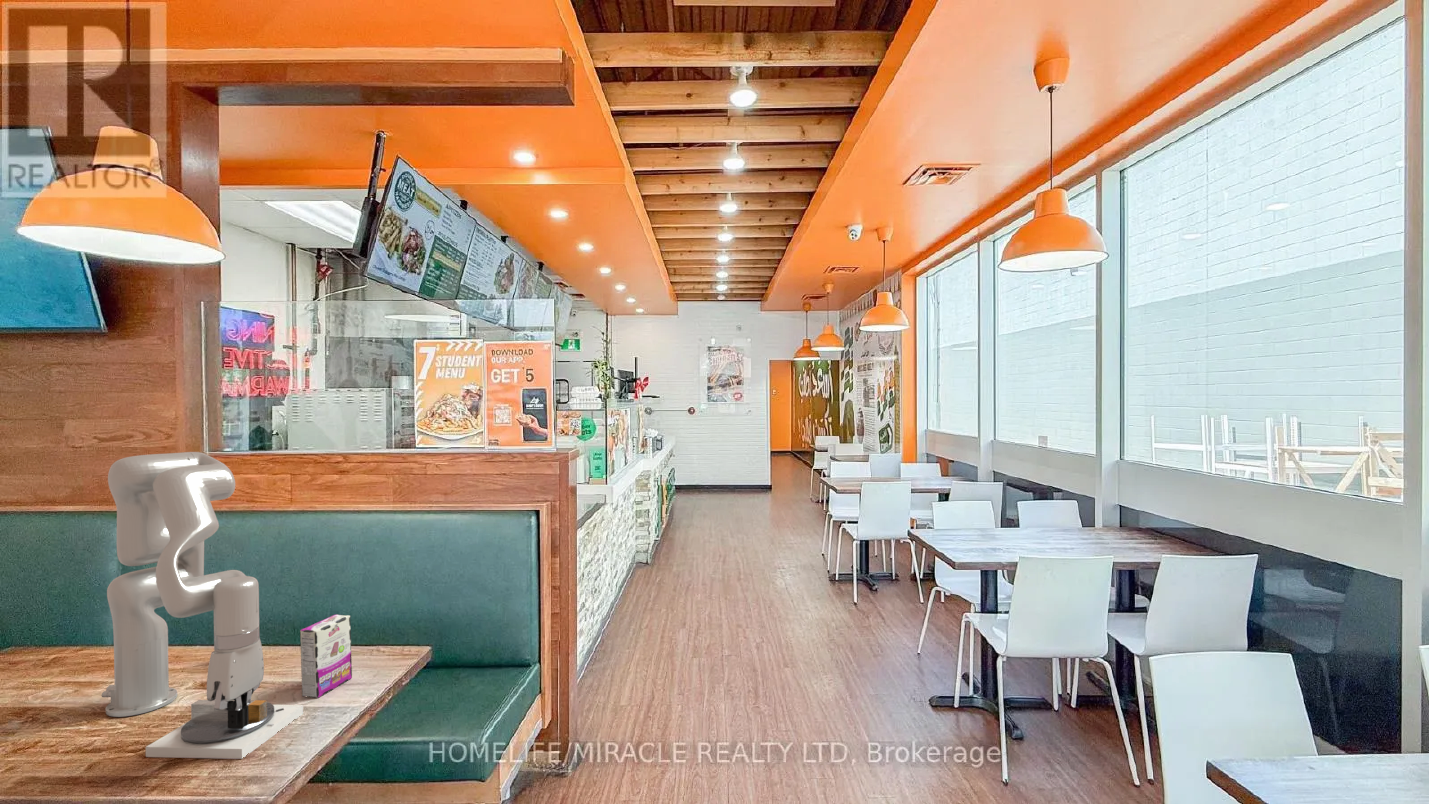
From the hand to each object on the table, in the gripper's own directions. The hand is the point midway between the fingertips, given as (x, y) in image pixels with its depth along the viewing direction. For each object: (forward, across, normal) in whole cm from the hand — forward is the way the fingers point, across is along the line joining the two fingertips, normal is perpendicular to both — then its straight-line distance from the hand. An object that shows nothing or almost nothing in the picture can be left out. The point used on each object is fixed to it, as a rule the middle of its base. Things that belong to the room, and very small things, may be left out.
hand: (238, 726), depth 133 cm
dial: (+2, -5, -6) cm, 8 cm away
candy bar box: (+4, -27, +1) cm, 27 cm away
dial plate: (+4, -5, -6) cm, 9 cm away
